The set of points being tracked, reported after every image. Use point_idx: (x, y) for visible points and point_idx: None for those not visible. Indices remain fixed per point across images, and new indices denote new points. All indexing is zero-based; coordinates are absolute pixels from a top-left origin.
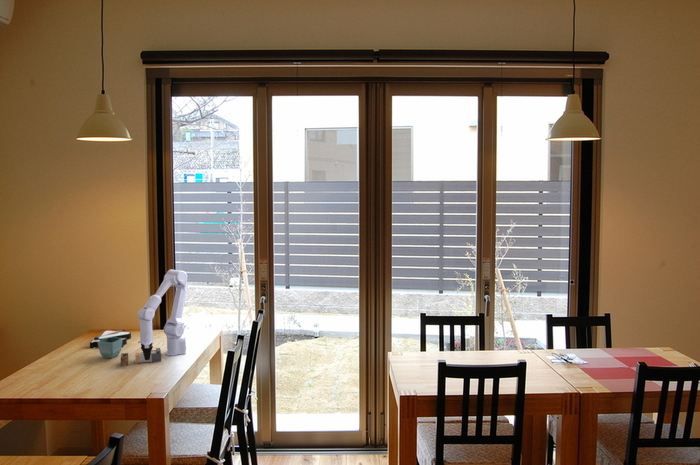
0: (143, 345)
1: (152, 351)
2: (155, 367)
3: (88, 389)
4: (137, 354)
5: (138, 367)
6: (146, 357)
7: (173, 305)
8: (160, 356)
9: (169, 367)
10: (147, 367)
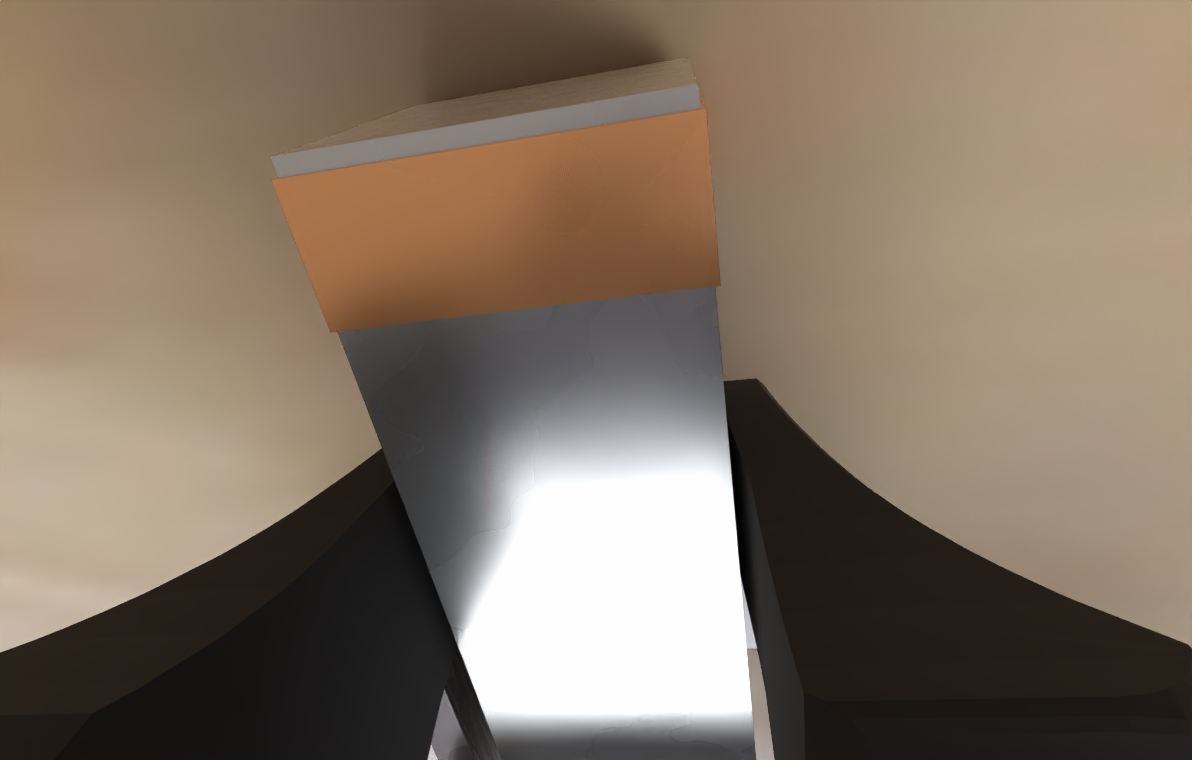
0: (804, 756)
1: (714, 701)
2: (151, 571)
3: None
4: (381, 250)
5: (100, 245)
6: None
7: None
8: None
9: None
10: (131, 442)
